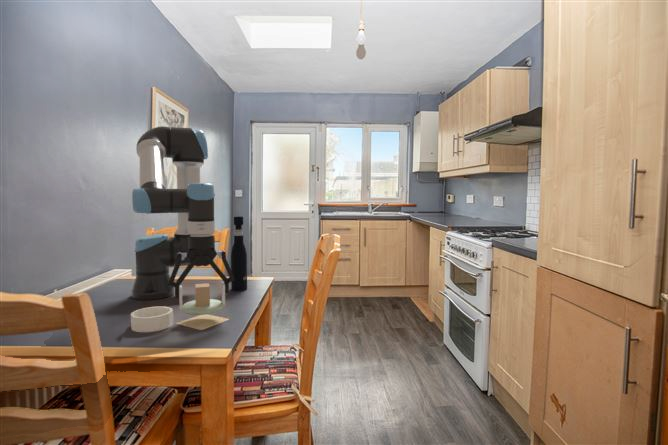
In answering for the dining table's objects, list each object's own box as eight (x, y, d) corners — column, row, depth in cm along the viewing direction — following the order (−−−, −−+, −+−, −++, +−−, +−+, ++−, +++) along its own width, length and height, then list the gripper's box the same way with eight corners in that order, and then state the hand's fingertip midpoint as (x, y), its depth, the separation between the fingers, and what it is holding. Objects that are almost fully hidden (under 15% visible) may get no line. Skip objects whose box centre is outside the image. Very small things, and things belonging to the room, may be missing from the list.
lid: (182, 316, 111) (181, 292, 110) (182, 304, 122) (182, 282, 121) (224, 312, 115) (223, 288, 114) (221, 301, 126) (220, 279, 125)
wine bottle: (232, 287, 164) (231, 216, 162) (248, 287, 165) (247, 216, 163) (230, 291, 158) (229, 217, 156) (246, 290, 159) (245, 217, 156)
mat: (175, 326, 116) (175, 323, 116) (204, 316, 126) (204, 313, 126) (201, 333, 111) (201, 330, 111) (229, 322, 120) (229, 319, 120)
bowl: (123, 330, 112) (122, 313, 112) (157, 320, 122) (156, 304, 121) (147, 338, 107) (147, 320, 107) (180, 326, 116) (180, 309, 116)
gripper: (156, 238, 108) (158, 313, 111) (243, 235, 117) (244, 305, 119) (158, 234, 115) (160, 305, 118) (240, 232, 124) (241, 298, 126)
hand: (202, 305), depth 118 cm, fingers closed on lid, 11 cm apart
